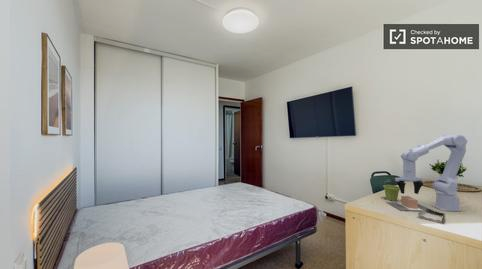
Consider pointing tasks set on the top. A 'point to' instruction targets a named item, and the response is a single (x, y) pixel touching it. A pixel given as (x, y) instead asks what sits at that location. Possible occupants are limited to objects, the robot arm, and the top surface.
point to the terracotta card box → (409, 202)
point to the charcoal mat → (405, 208)
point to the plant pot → (391, 192)
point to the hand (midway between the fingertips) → (409, 193)
